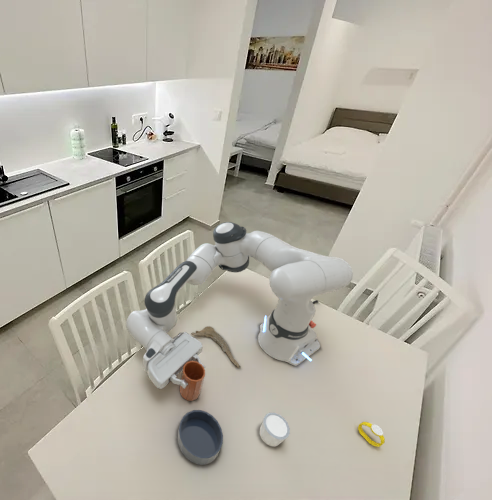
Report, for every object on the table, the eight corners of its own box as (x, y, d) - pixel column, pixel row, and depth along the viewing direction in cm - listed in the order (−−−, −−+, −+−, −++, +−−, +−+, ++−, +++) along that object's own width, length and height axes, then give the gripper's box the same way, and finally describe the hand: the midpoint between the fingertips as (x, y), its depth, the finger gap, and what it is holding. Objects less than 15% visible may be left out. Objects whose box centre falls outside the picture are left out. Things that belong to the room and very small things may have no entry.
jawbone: (202, 323, 115) (203, 320, 113) (249, 354, 104) (251, 350, 103) (189, 336, 109) (190, 332, 108) (239, 370, 98) (240, 366, 97)
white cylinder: (284, 452, 79) (292, 442, 75) (258, 446, 80) (265, 436, 76) (279, 425, 84) (287, 415, 80) (255, 420, 85) (261, 409, 81)
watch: (353, 430, 83) (362, 421, 80) (358, 425, 84) (368, 416, 81) (374, 451, 79) (385, 442, 76) (379, 446, 80) (391, 437, 77)
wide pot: (205, 412, 87) (208, 403, 84) (227, 455, 78) (231, 447, 75) (170, 426, 84) (172, 418, 80) (189, 473, 75) (191, 466, 71)
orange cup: (193, 378, 94) (198, 358, 87) (203, 397, 90) (209, 377, 82) (176, 385, 93) (179, 364, 85) (185, 404, 88) (189, 384, 81)
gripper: (182, 335, 101) (214, 362, 92) (139, 371, 90) (171, 405, 81) (184, 324, 97) (217, 351, 89) (139, 360, 86) (173, 394, 78)
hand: (195, 377), depth 85 cm, fingers closed on orange cup, 6 cm apart
